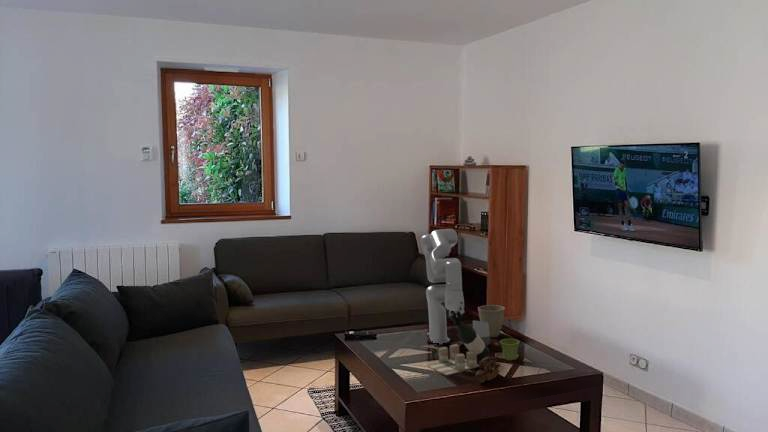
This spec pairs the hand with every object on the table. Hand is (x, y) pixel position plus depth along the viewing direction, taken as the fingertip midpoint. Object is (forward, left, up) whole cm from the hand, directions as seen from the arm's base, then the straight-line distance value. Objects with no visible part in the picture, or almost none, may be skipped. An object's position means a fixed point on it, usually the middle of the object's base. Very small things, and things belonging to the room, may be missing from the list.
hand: (455, 323), depth 280 cm
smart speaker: (-18, +30, -21) cm, 40 cm away
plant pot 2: (+8, +27, -21) cm, 35 cm away
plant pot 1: (-28, +46, -21) cm, 57 cm away
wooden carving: (+24, 0, -21) cm, 32 cm away
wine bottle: (-1, +16, -18) cm, 24 cm away
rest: (0, -2, -21) cm, 21 cm away
